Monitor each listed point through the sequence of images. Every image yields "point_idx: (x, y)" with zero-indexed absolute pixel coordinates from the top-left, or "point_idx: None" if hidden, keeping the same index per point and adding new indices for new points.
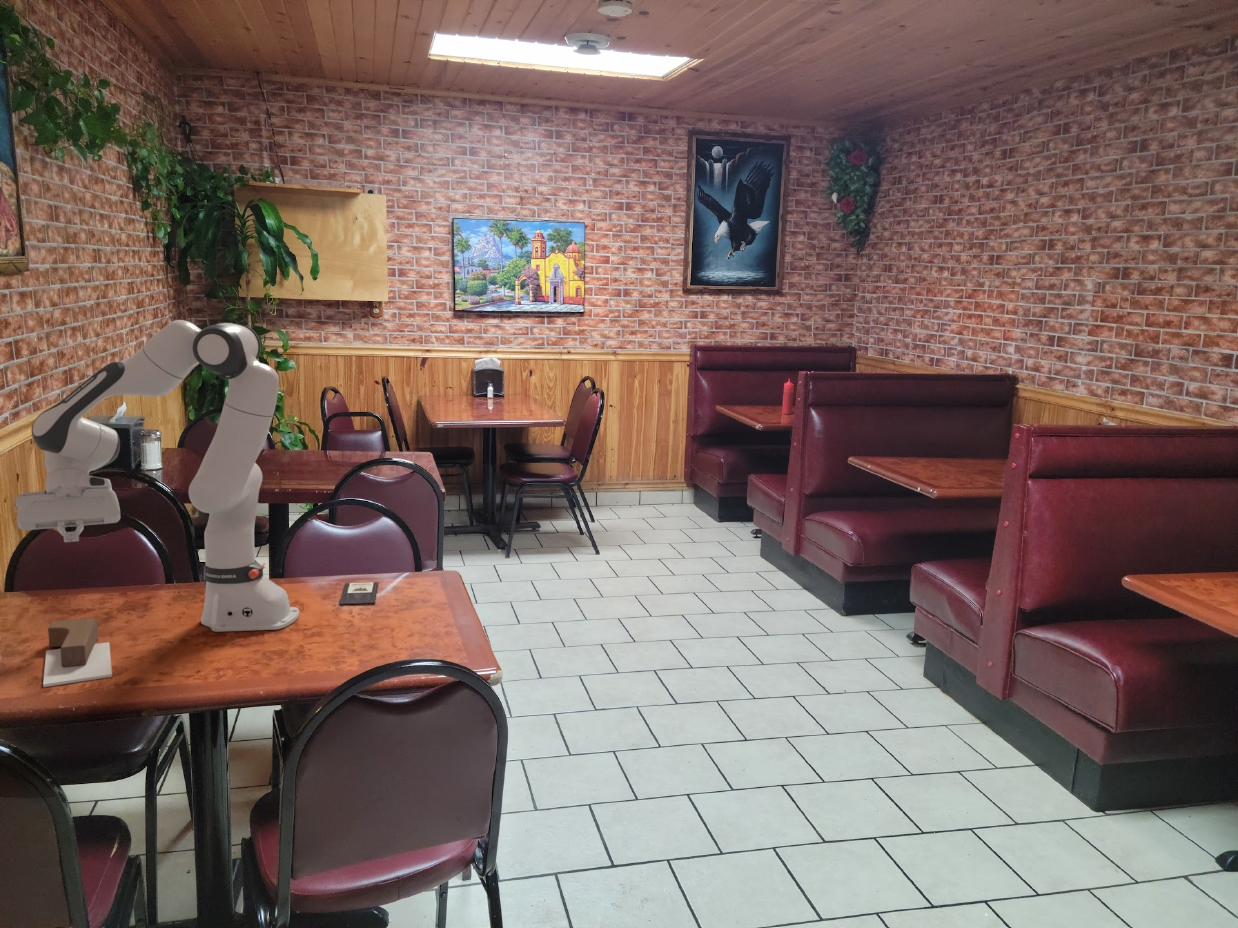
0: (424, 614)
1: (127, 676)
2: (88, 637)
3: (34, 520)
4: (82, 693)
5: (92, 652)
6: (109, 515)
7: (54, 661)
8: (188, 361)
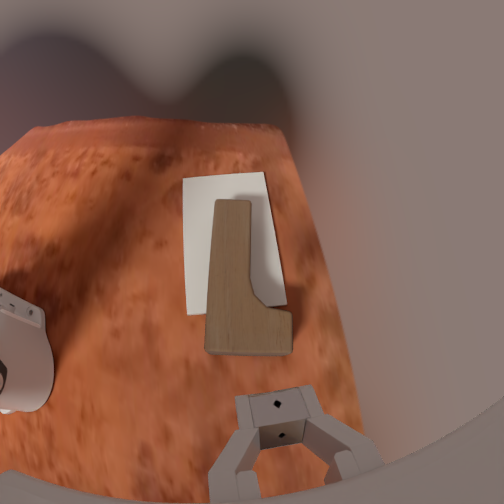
0: None
1: (166, 177)
2: (211, 238)
3: (493, 410)
4: (216, 147)
5: None
6: (36, 479)
7: (264, 248)
8: None
